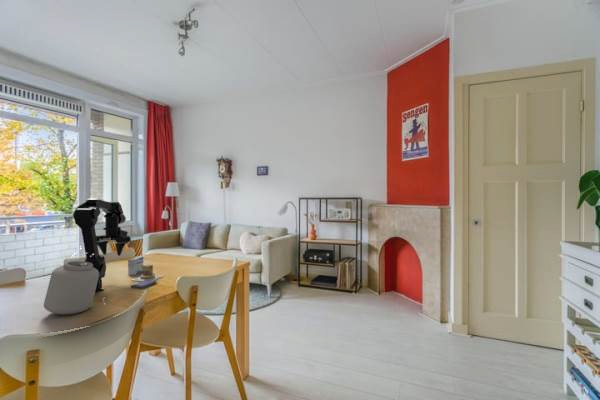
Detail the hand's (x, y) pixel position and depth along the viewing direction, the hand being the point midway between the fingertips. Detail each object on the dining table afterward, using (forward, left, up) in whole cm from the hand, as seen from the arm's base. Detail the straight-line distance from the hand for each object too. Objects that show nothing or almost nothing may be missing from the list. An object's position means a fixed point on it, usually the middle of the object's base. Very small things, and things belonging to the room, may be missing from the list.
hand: (112, 255), depth 152 cm
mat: (+6, -17, -13) cm, 22 cm away
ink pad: (-5, -24, -13) cm, 28 cm away
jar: (-37, -22, -13) cm, 45 cm away
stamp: (+6, -17, -12) cm, 22 cm away
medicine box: (+14, -2, -13) cm, 19 cm away
